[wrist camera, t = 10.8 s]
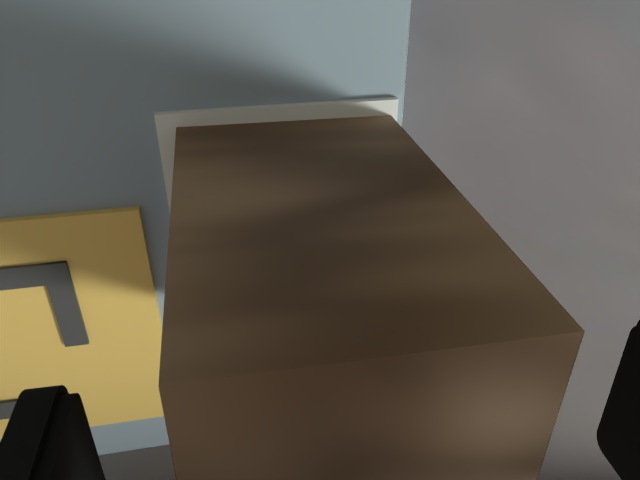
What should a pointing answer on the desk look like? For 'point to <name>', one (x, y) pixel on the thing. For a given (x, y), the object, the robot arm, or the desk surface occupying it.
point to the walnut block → (348, 314)
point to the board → (144, 166)
